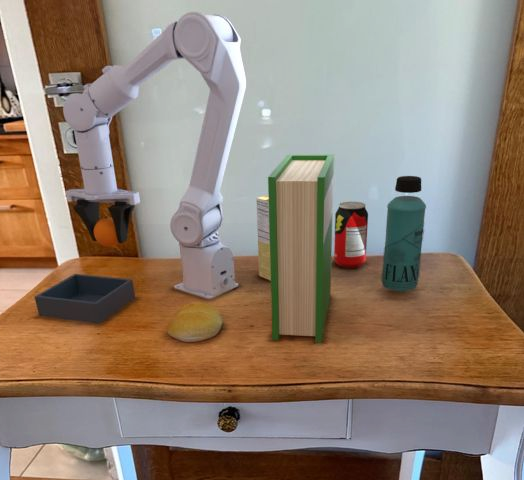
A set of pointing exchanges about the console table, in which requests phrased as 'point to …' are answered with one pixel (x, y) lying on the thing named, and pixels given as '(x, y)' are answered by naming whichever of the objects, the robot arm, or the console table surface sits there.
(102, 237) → the orange
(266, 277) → the candy box
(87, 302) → the dark gray tray
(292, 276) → the hardback book
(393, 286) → the beverage bottle
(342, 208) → the beverage can
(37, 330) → the console table surface
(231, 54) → the robot arm
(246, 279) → the console table surface
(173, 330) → the bread roll
